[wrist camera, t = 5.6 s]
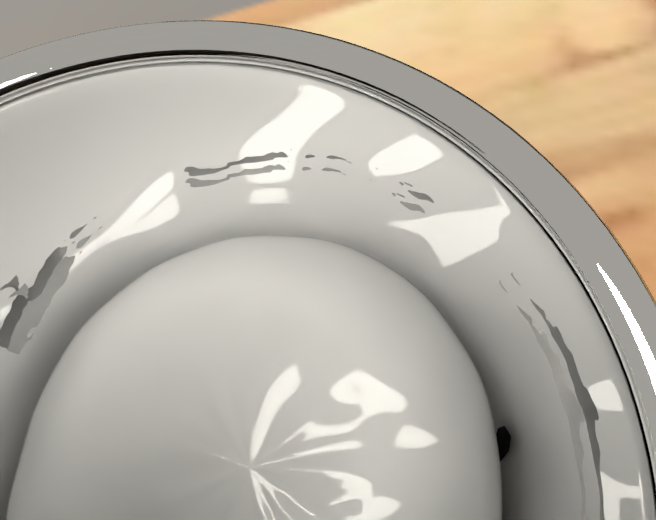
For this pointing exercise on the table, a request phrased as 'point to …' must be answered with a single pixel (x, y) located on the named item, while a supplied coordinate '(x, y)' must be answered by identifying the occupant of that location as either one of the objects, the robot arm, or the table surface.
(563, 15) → the table surface
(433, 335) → the beer glass
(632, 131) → the table surface
